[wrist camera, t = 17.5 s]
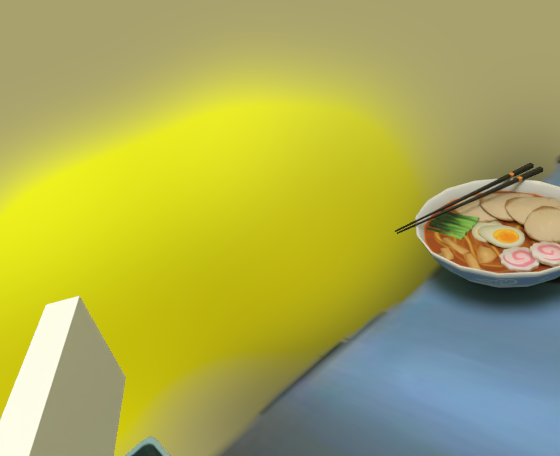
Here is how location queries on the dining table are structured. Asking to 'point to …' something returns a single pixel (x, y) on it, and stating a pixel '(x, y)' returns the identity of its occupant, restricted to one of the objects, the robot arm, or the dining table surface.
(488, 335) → the dining table surface
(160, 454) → the flower pot
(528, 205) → the ramen bowl
